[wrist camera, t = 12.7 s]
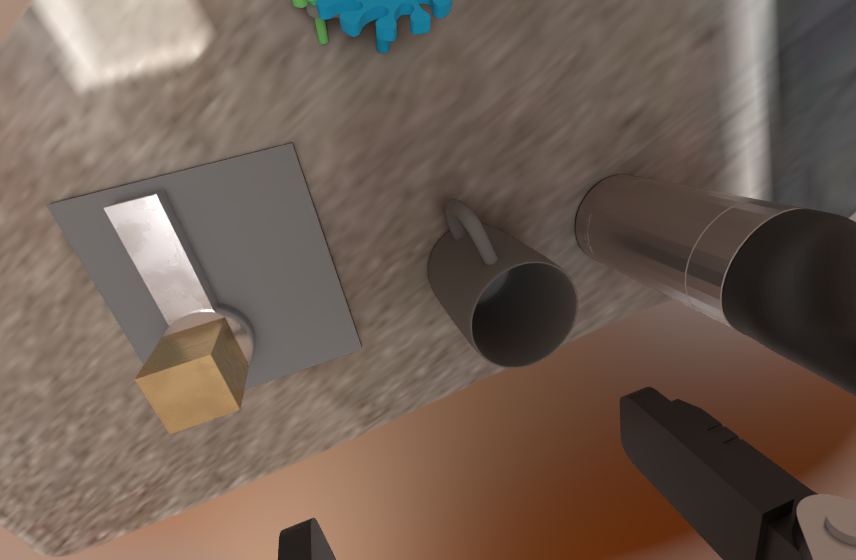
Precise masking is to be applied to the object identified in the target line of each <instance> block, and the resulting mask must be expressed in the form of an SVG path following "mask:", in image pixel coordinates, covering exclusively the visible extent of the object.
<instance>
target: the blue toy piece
mask: <svg viewBox="0 0 856 560" xmlns="http://www.w3.org/2000/svg"><path fill="white" fill-rule="evenodd" d="M292 3H293V5H294V6H295V7H298V8H303V7H305V6H306V11H307V13H308V15H309V16H311V17H314V19H315V24H316V30H317V35H318V41H319V43H321V44H326V43H328V35H327V29H326V23H325V20H327V19H330V18H340V25H341V29H342V30H343V31H344V32H345V33H347V34H348V35H350V36H352V37H355V36H358V35H359V34H360V33H361V30H362V28H363V27H364V26H365V25H366V24H367V23H369V22H370V21H373V20H375V23H376V46H377V50H378V51H379V52H380V53H386V52H388V51H389V50H390V41H395V39H396V37H397V24H396V21H397V20H398V18H399V17H400V16H401V15H410V31H411V32H412V33H413V34H423V33H427V32H430V21H431V17H430V15H429V14H428V13H427V12H426V11H424V10H423V9H422V8H421V7H420V5H419V4H422V3H424V4H428V5H429V6H430V7H431V10H432V14H433V15H434V16H435V17H437V18H443V17H445V16H446V15H447V14H448V13H449V12H450V11H451V4H452V0H292Z"/></svg>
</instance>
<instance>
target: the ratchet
mask: <svg viewBox="0 0 856 560" xmlns="http://www.w3.org/2000/svg"><path fill="white" fill-rule="evenodd" d="M104 210H105V212H106V214H107V215H108V217H109V219H110V221H111V223H112V224H113V226H114V228H115V230H116V232H117V233H118V235H119V237H120V239H121V241H122V242H123V244H124V246H125V248H126V250H127V251H128V253H129V255H130V257H131V259H132V260H133V262H134V264H135V266H136V268H137V269H138V271H139V273H140V275H141V277H142V278H143V280H144V282H145V284H146V286H147V287H148V289H149V291H150V293H151V295H152V296H153V298H154V300H155V302H156V304H157V305H158V307H159V309H160V311H161V313H162V314H163V316H164V318H165V320H166V322H167V323H168V325H169V327H168V328H167V330H166V331H165V333H164V335H163V336H166V335H170V334H173V333H176V332H179V331H182V330H186V329H189V328H192V327H195V326H198V325H201V324H205V323H208V322H211V321H214V320H217V319H220V318H224V317H225V318H226V320H227V322H228V324H229V326H230V328H231V330H232V332H233V334H234V336H235V338H236V340H237V342H238V344H239V346H240V348H241V350H242V352H243V354H244V356H245V358H246V360H247V362H248V364H250V361H251V358H252V353H253V348H254V344H255V333H254V329H253V326H252V324H251V322H250V321H249V319H248V318H247V317H246V316H245V315H244V314H243V313H242V312H240V311H239V310H237V309H236V308H234V307H232V306H229V305H226V304H223V303H219V302H218V299H217V297H216V295H215V293H214V291H213V289H212V287H211V285H210V283H209V281H208V279H207V277H206V275H205V273H204V271H203V268H202V266H201V264H200V262H199V260H198V258H197V256H196V254H195V252H194V250H193V248H192V246H191V244H190V242H189V240H188V237H187V235H186V233H185V231H184V229H183V227H182V225H181V223H180V221H179V219H178V217H177V215H176V213H175V211H174V209H173V206H172V204H171V202H170V200H169V198H168V196H167V194H166V192H165V190H162V191H158V192H154V193H150V194H146V195H142V196H138V197H135V198H131V199H127V200H123V201H119V202H115V203H113V204H111V205H109V206H107V207H104ZM163 336H162V337H163Z"/></svg>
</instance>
